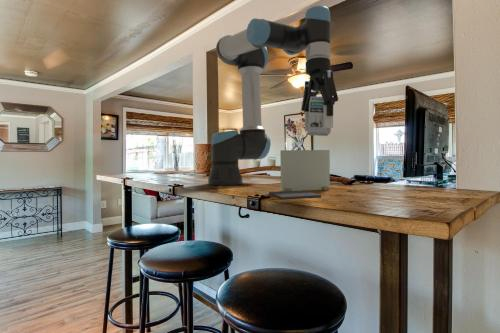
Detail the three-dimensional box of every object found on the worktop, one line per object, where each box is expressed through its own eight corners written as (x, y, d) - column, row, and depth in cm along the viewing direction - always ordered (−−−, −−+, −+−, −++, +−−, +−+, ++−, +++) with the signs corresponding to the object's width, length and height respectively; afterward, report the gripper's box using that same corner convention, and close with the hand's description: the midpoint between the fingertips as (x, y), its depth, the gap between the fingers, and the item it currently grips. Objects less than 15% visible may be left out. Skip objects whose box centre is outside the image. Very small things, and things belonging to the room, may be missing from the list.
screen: (279, 190, 101) (279, 150, 101) (326, 188, 106) (325, 150, 105) (283, 191, 98) (283, 150, 97) (331, 189, 102) (331, 149, 101)
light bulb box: (331, 133, 86) (333, 96, 85) (307, 132, 87) (310, 95, 86) (327, 136, 96) (329, 103, 96) (306, 135, 97) (308, 102, 97)
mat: (269, 193, 93) (269, 191, 93) (303, 192, 96) (303, 190, 96) (282, 199, 82) (282, 197, 82) (321, 197, 84) (321, 195, 84)
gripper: (291, 70, 101) (291, 132, 102) (326, 44, 78) (326, 125, 79) (311, 71, 103) (311, 132, 104) (351, 47, 80) (351, 126, 80)
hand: (318, 129), depth 91 cm, fingers closed on light bulb box, 12 cm apart
